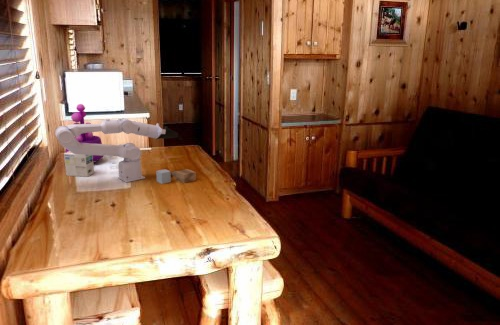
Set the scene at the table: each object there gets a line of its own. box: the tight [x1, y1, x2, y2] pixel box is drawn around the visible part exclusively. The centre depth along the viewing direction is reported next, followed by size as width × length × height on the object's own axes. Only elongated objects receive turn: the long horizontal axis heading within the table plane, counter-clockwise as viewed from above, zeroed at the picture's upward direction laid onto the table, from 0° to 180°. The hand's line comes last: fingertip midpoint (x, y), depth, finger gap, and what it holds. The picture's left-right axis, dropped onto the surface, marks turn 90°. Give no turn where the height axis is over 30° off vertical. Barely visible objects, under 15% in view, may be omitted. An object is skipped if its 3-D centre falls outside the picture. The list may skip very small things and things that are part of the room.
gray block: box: [155, 168, 172, 185], centre depth 179 cm, size 4×4×5 cm
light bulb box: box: [63, 151, 95, 178], centre depth 186 cm, size 11×7×11 cm, turn 84°
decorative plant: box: [64, 103, 104, 163], centre depth 203 cm, size 19×18×30 cm
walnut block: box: [175, 168, 197, 184], centre depth 182 cm, size 6×6×4 cm
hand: (174, 135), depth 188 cm, fingers open, 7 cm apart
